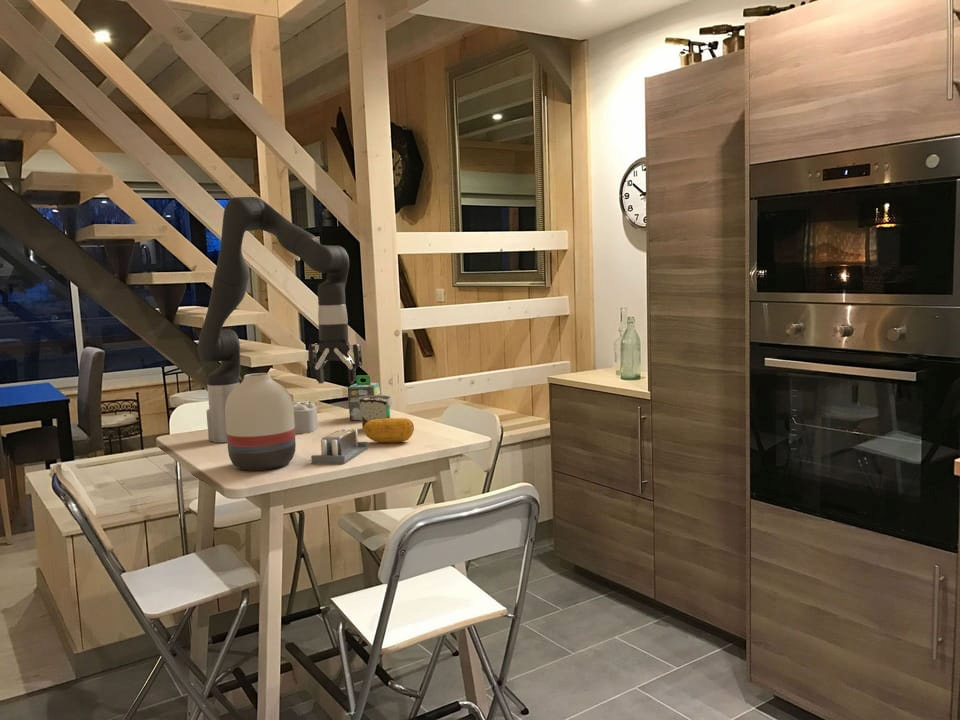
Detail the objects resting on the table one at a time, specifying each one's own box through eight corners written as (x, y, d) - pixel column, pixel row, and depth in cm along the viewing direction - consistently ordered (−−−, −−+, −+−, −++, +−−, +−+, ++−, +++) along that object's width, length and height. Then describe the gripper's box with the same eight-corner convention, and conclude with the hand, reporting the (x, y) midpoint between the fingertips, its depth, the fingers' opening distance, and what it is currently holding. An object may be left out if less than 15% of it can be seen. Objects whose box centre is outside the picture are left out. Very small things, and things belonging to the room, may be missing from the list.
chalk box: (382, 415, 266) (379, 372, 264) (376, 420, 256) (373, 376, 255) (355, 416, 266) (353, 373, 265) (348, 421, 257) (346, 377, 256)
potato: (369, 439, 227) (367, 416, 226) (417, 439, 224) (416, 415, 224) (361, 445, 219) (360, 420, 219) (411, 445, 217) (410, 420, 217)
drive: (323, 457, 203) (322, 437, 202) (338, 448, 213) (337, 430, 212) (341, 457, 202) (340, 438, 201) (356, 448, 211) (355, 430, 211)
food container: (402, 427, 243) (400, 396, 242) (389, 431, 238) (387, 399, 237) (371, 424, 249) (370, 394, 248) (359, 428, 244) (357, 397, 243)
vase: (278, 454, 212) (272, 368, 209) (308, 464, 199) (303, 373, 197) (218, 466, 201) (211, 375, 198) (246, 477, 188) (239, 381, 186)
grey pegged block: (311, 463, 200) (310, 441, 199) (337, 448, 216) (336, 428, 216) (344, 463, 198) (342, 441, 197) (367, 448, 214) (366, 428, 214)
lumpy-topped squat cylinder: (279, 434, 239) (277, 407, 238) (289, 426, 252) (287, 400, 251) (313, 433, 239) (311, 405, 238) (321, 425, 252) (319, 399, 251)
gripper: (301, 323, 201) (305, 385, 203) (353, 322, 198) (356, 385, 200) (313, 321, 208) (317, 381, 210) (363, 320, 205) (366, 381, 207)
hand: (336, 383), depth 205 cm, fingers open, 8 cm apart
